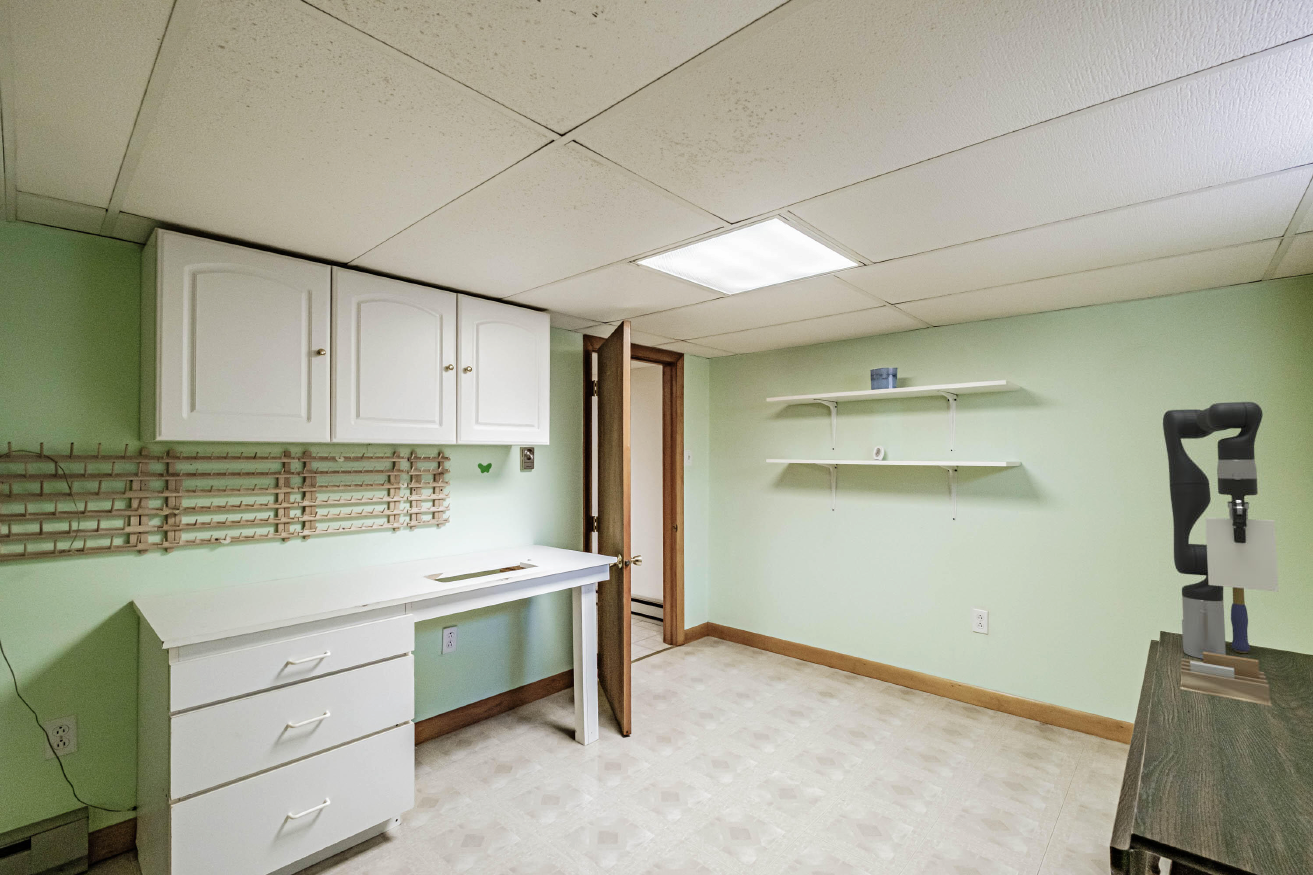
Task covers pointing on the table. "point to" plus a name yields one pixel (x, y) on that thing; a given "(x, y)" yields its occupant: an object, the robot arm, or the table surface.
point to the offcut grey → (1212, 669)
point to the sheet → (1242, 555)
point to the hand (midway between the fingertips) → (1239, 542)
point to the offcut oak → (1234, 664)
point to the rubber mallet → (1239, 622)
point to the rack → (1226, 685)
